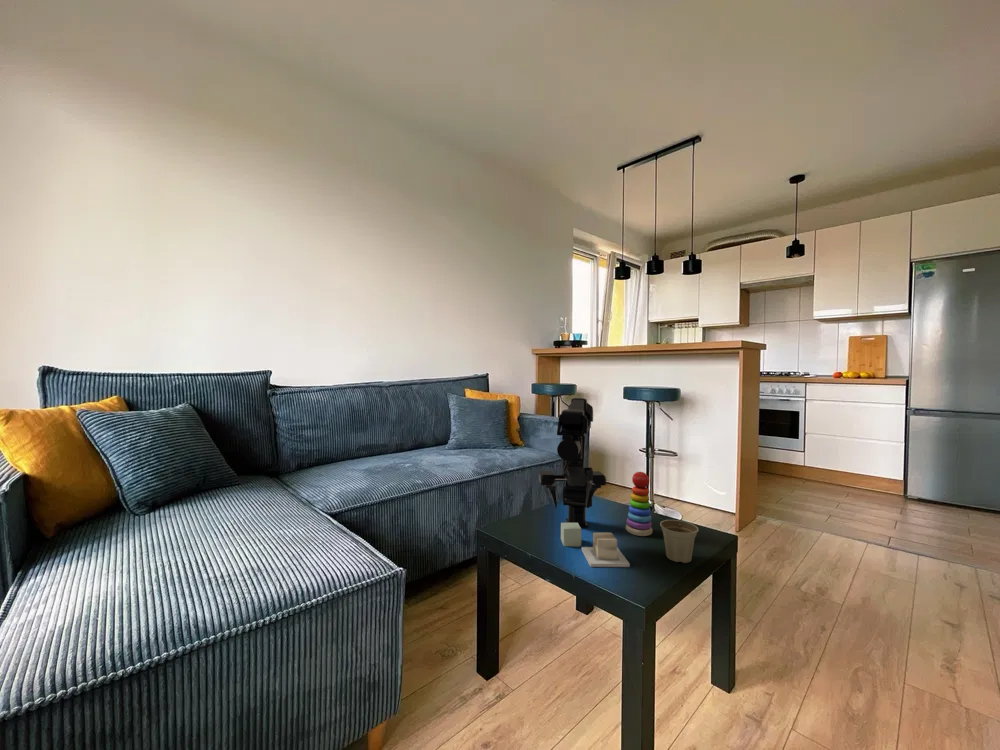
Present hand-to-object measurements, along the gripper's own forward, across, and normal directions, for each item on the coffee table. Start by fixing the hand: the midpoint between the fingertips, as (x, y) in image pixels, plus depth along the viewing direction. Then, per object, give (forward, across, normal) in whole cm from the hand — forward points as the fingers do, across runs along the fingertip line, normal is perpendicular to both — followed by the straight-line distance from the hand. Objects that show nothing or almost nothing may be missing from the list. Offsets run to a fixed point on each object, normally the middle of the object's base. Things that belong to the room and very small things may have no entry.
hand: (571, 507), depth 118 cm
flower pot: (+10, +27, -10) cm, 31 cm away
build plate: (+10, +7, -10) cm, 16 cm away
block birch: (+9, +7, -10) cm, 15 cm away
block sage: (+10, 0, 0) cm, 10 cm away
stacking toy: (+10, +23, +8) cm, 26 cm away
